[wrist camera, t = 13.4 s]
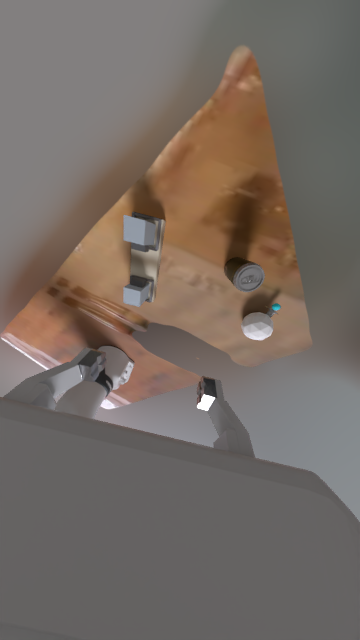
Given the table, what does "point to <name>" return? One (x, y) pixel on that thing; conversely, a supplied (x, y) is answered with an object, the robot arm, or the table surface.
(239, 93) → the table surface
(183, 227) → the table surface
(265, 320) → the perfume bottle
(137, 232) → the block
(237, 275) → the beer can
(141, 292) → the block
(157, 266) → the rail
